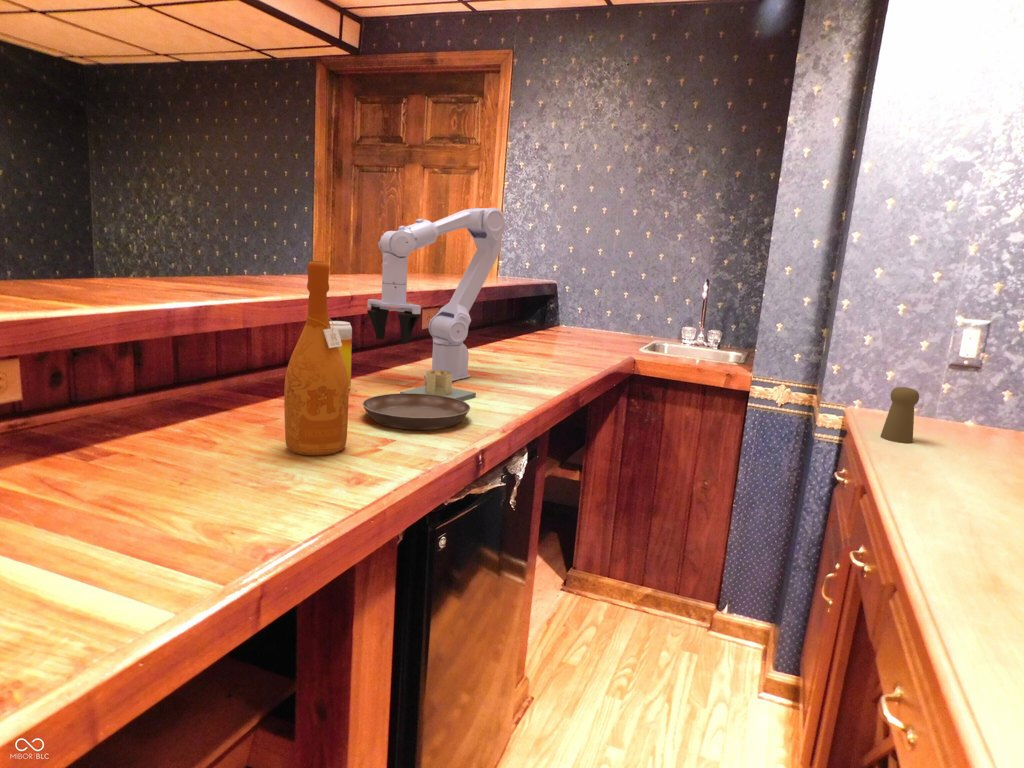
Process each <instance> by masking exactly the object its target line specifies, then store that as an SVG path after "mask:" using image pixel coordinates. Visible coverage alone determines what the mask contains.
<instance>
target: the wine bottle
mask: <svg viewBox="0 0 1024 768" xmlns="http://www.w3.org/2000/svg"><path fill="white" fill-rule="evenodd" d="M306 266H307V267H306V269H307V285H306V289H307V291H308V292H309V294H308V303H307V306H308V307H307V314H306V315H307V316H306V321H305V323H304V327H303V330H302V332H301V334H300V337H299V338H298V340H297V343H296V345H295V347H294V349H293V351H292V353H291V356H290V359H289V361H288V365H287V368H286V372H285V378H284V391H283V392H284V398H283V399H284V403H283V404H284V438H285V439H284V440H285V445H286V447H287V449H288V450H289V451H290V452H292V453H294V454H298V455H303V456H311V457H315V456H316V457H318V456H327V455H333V454H335V453H338V452H340V451H342V450H343V449H344V448H345V446H346V444H347V440H348V438H347V437H348V422H349V403H350V402H349V395H350V394H349V393H350V392H349V391H350V390H349V389H350V388H349V383H348V374H347V369H346V366H345V362H344V359H343V356H342V354H341V351H340V349H339V346H342V343H341V339H340V335H339V331H338V328H331V326H330V323H329V321H331V322H332V321H333V320H332V319H331V318H330V317H329V311H328V296H327V295H328V292H329V291H330V283H329V277H330V276H329V275H330V271H331V269H330V265H329V263H328V262H327V261H322V260H311V261H308V263H307V265H306ZM332 324H333V322H332Z"/></svg>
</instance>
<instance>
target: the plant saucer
mask: <svg viewBox="0 0 1024 768" xmlns="http://www.w3.org/2000/svg"><path fill="white" fill-rule="evenodd" d="M362 406H363V408H364V410H365V412H366V414H368V415H369V417H371V418H372V419H373V420H374V421H375V422H376V423H378V424H381V425H382V424H383V426H385V425H386V427H391V428H394V429H399V430H400V429H401V430H408V429H410V430H411V431H430V430H431V429H434V430H439V429H440V430H441V428H442V429H446V427H447V428H450V427H452V426H454V425H457V424H458V423H459V422H460V421H462V420H463V419H464V418H465V417H466V416H467V415H468V413H469V412H470V410H471V406H470V405H469V404H468V403H467V402H465V401H461V400H458V399H455V398H450V397H445V396H439V395H431V394H416V393H388V394H381V395H375V396H371V397H369V398H366V399H364V400H363V402H362Z"/></svg>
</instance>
